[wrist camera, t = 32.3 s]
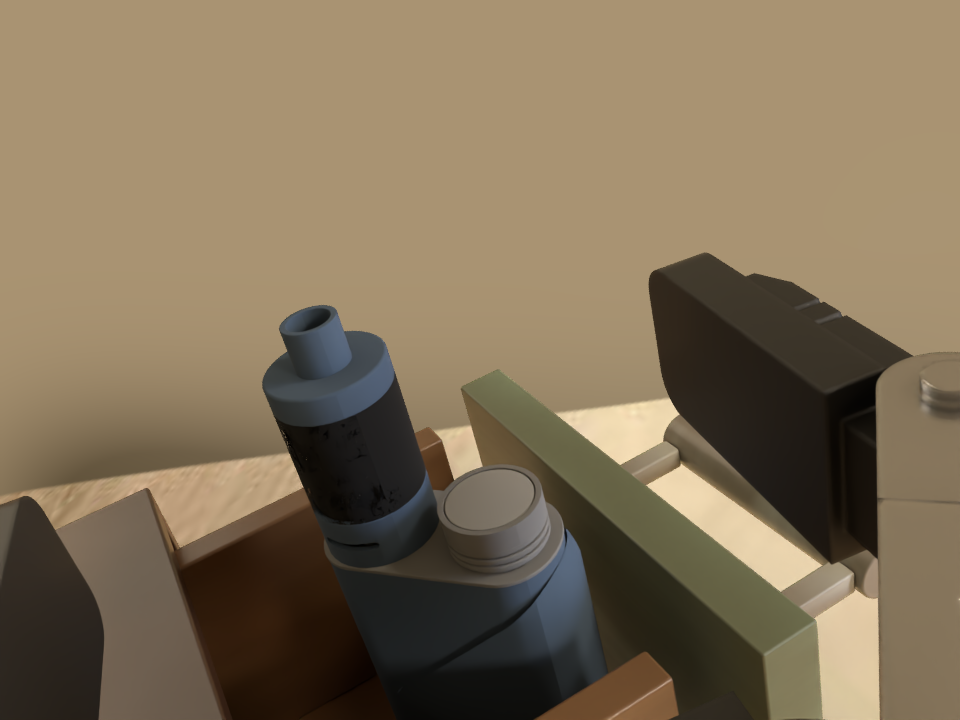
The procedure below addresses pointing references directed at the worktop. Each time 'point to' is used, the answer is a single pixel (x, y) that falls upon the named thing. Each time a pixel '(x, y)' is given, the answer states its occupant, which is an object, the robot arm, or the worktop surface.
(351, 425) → the vaping device
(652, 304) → the robot arm
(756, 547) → the worktop surface
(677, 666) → the drawer
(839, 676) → the worktop surface
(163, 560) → the cabinet
